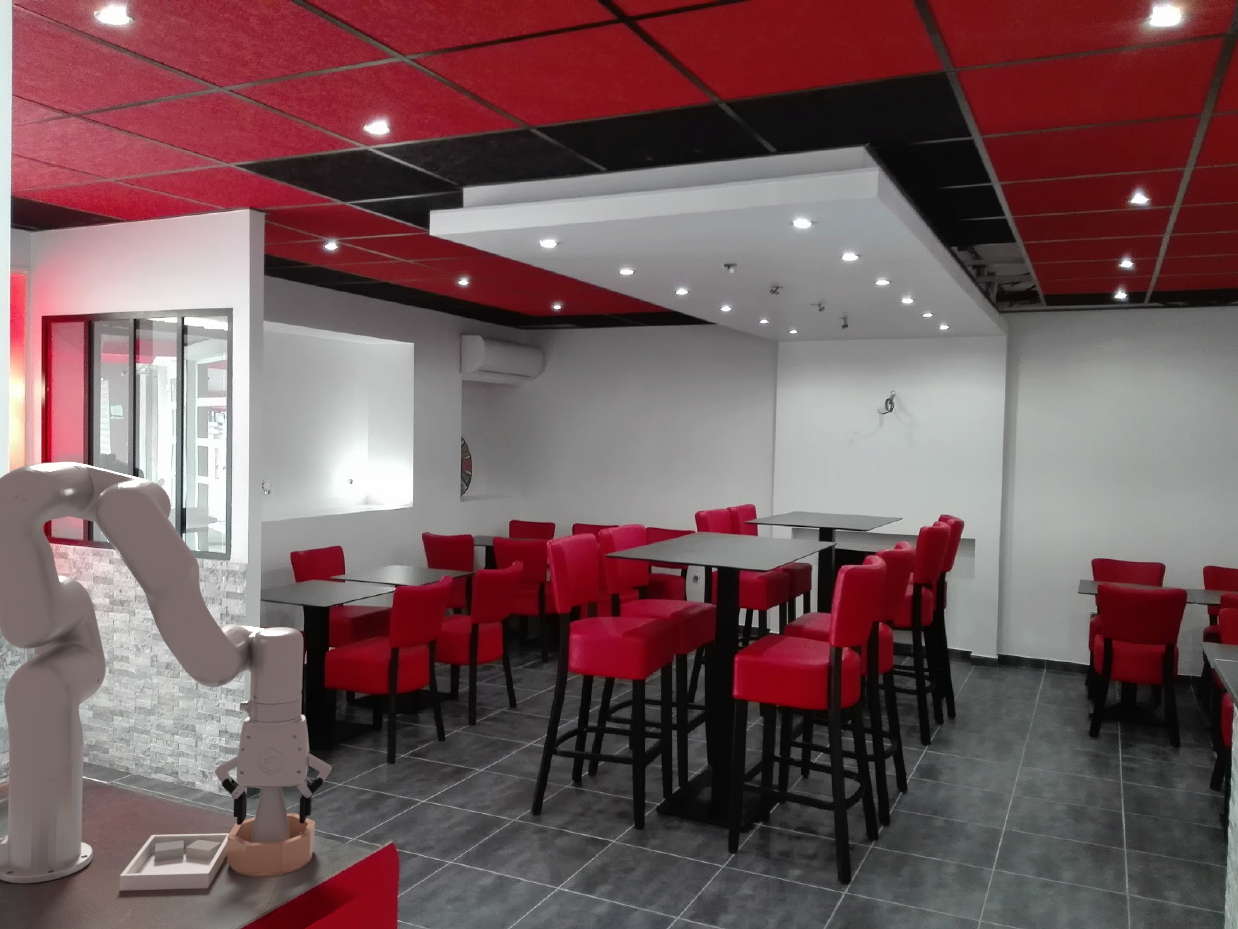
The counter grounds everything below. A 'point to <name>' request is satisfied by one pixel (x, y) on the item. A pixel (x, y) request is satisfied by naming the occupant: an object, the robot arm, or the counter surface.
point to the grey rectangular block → (169, 850)
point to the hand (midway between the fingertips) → (272, 820)
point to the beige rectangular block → (202, 850)
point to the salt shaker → (270, 817)
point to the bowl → (270, 849)
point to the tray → (173, 865)
